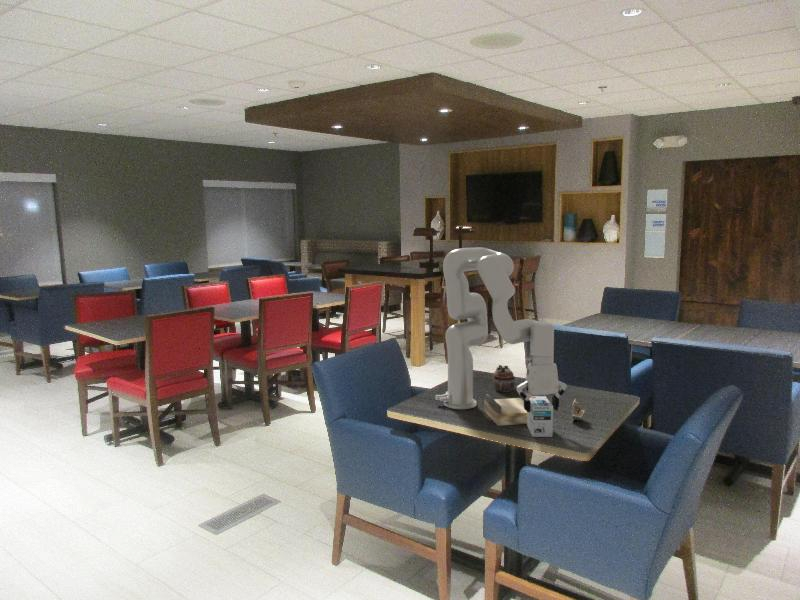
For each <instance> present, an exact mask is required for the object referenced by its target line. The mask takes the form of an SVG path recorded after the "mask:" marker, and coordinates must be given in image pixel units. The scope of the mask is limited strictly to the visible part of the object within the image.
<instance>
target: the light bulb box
mask: <svg viewBox="0 0 800 600" xmlns="http://www.w3.org/2000/svg"><path fill="white" fill-rule="evenodd" d="M529 400H530V412H527V424H526V427H527V428H528V430H529V432H530V434H531V436H532V437H533V438H537V437H538V438H540V437H541V438H542V437H543V438H544V437H545V438H552V437H553V434H554V431H553V427H554V426H553V425H554V424H553V423H554V408H553V405H552V402H551V401H550V400H549V399H548V397H547V395H532V396H531V397H530V399H529Z"/></svg>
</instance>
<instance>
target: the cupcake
mask: <svg viewBox="0 0 800 600" xmlns="http://www.w3.org/2000/svg"><path fill="white" fill-rule="evenodd" d="M491 379H492V382H493V387H494V390H495V391H496V390H497V392H499V391H505V392H504V393H507V392H506V391H511V392H513V391H514V390H515V385H516V380H517V378H516V377H515V373H514V372H513V371H512V370H511V368H510V367H509V366H508V365H501V364H499V365H498V366H497V367H496V369H495V371H494V372H493V375H492V376H491ZM512 390H513V391H512Z"/></svg>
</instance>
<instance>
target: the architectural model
mask: <svg viewBox="0 0 800 600" xmlns="http://www.w3.org/2000/svg"><path fill="white" fill-rule="evenodd" d="M571 406H572V408H571V409H572V412H571V424H573V423H574V421H580V418H583V415H584V413H585V411H586V410H584V409H582V408H581V407H582V406H581V404H580V402H579V401H576V398H574V400H573V402H572V405H571Z"/></svg>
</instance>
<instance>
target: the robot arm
mask: <svg viewBox="0 0 800 600" xmlns="http://www.w3.org/2000/svg"><path fill="white" fill-rule="evenodd" d="M444 257H445V258H444V259H443V261H442V263H443V264H442V270H443V271H442V272H443V275H444V280H445V281H444V282H445V286H446V287H445V289H446V290H445V293H446V307H447V313H448V316H449V318H451V319H452V320H458V321H459V320H466V319H467V321H464V322H459V323H455V324H452V325H450V326H449V327H448V328H447V329H446V331H445V337H444V338H445V343H446V352H447V391H445V393H443V394H436V395H435V396H434V397H435V401H440V402H443V405H444V406H445V407H447V408H448V409H453V410H468V409H469V410H470V409H473V408H476V407H477V400H476V399H474V398H473V396H474V390H473V388H474V358H473V355H472V353H471V351H470V348H471V347H476V346H479V345H482V344H484V343H485V342H486V340H487V339H488V336H489V326H488V325H489V324H488V308H487V304H486V301H485V298H484V297H483V296H482V295H481V294H480V293H477V292H470V286H469V280H468V278H467V276H466V275H465V273H464V272H470V271H477V273H478V274H479V277H480V278H481V280H482V282H483V284H484V286H485V288H486V289H487V291H488V294H489V295H490V297H491V299H492V307H491V308H492V309H491V313H492V314H491V315H492V322H493V324H494V326H495V328H496V329H497V332H498V333H499V335H500V337H501V338H502V340H503V341H504V342H505V343H507V344H510V345H515V344H516V345H517V344H521V343H525V342H526V343H527V342H529V343H530V345H529V346H530V347H529V349H530V350H529V356H526V358H525V360H526V362H529V363H528V364H527V368H526V373H525V381H524V382H522V383H520V384H518V385H517V386H515V390H516V391H517V393H518V395H519V396H520V398H521V399H522V400H523V401H524V409H525V410H526V411H527V412H530V400H529V399H530V397H531V396H548V395H552V397H551V398H552V399H551V401H552V402H551V404H552V405H553V410H555V411H559V407H560V399H561V396H562V395H563V394H564V393H565V390H566V389H567V387H568V385H567V383H565V382H562V381H560V380H559V374H558V367H557V364H556V363H554V355H555V354H554V353H555V351H554V349H555V347H554V346H555V327H554V325H553V324H552V322H551V323H550V322H546V321H538V320H535V319H533V318H532V319H531V318H523V319H517V320H514V319H513V318H512V315H511V313H510V312H509V308H508V303H509V299H511V298H512V297H513V296H514V295H515V293H516V287H515V286H514V284H513V283H512V280H511V279H510V277H509V276H511V275H512V273H513V272H514V269H515V264H514V261H513V259H512V258H511V257H510V256H509V255H508V254H506V253H504V252H500V251H496V250H493V249H491V248H487V247H483V246H482V247H479V246H478V247H462V248H461V247H460V248H456V249H453V250H451V251H449V252H448V253H447V254H446V255H445V256H444ZM559 387H560V388H559ZM523 389H525V392H523Z"/></svg>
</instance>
